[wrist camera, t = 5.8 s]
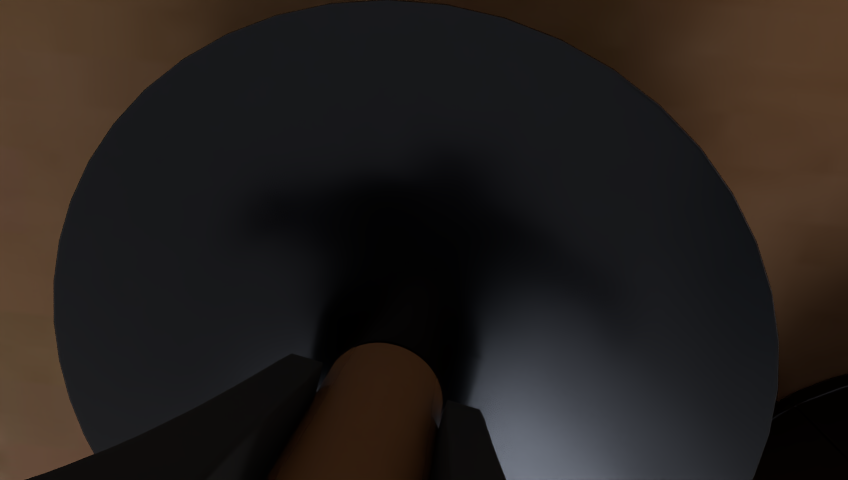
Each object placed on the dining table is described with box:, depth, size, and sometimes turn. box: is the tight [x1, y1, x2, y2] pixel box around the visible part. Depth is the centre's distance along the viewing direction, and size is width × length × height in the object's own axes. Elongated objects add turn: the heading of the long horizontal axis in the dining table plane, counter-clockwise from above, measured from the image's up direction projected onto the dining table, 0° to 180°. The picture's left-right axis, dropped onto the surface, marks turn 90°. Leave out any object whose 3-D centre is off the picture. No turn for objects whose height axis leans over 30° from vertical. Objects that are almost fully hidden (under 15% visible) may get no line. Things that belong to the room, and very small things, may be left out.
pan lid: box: [54, 0, 779, 480], centre depth 9 cm, size 15×15×5 cm
